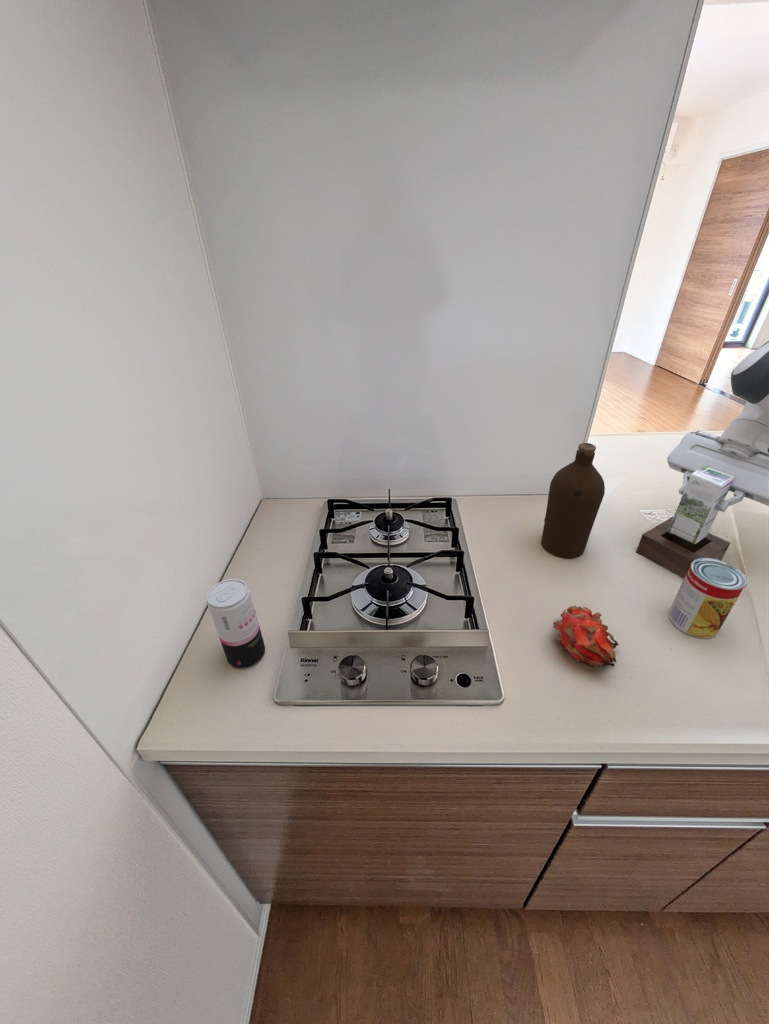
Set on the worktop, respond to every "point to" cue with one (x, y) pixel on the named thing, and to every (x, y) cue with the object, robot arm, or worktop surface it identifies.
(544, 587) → the worktop surface
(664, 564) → the holder
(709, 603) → the canned food
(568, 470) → the olive oil
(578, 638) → the dragon fruit
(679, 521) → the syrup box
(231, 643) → the beverage can
